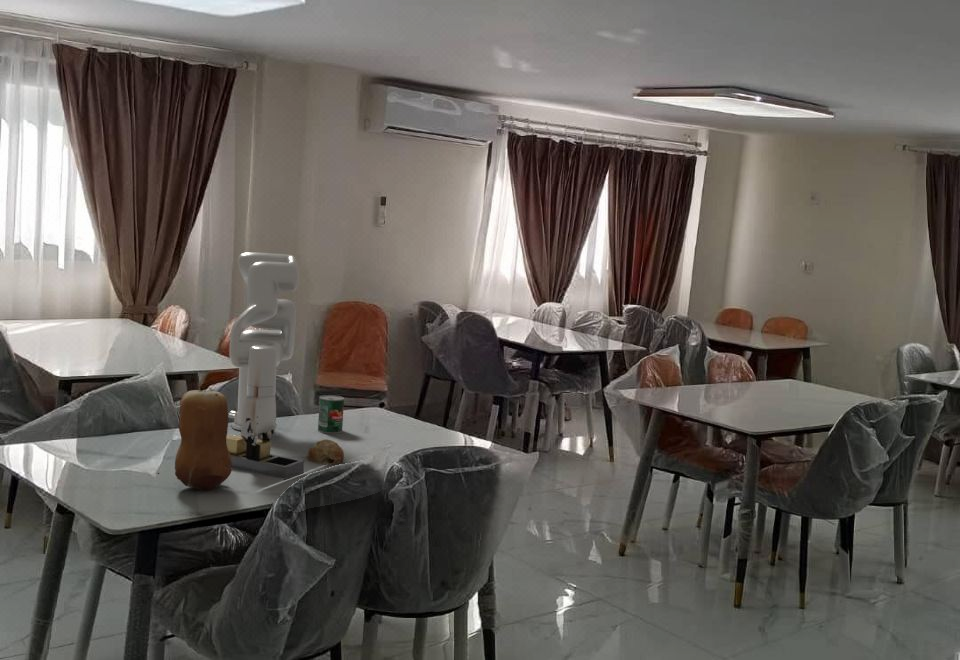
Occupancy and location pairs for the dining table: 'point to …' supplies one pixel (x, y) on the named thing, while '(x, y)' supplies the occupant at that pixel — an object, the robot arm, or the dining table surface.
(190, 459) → the butternut squash
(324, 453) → the bread roll
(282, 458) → the grey compartment tray
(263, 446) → the tan cubic block
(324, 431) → the canned tomato
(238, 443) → the khaki cardboard box
